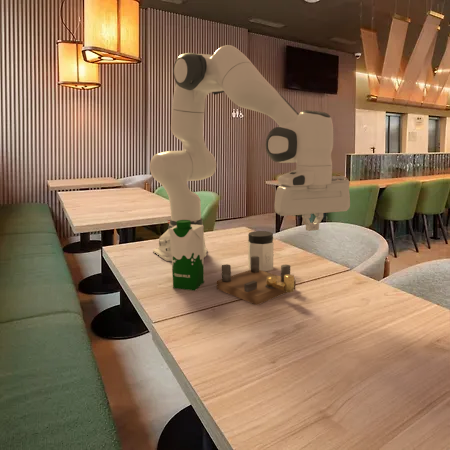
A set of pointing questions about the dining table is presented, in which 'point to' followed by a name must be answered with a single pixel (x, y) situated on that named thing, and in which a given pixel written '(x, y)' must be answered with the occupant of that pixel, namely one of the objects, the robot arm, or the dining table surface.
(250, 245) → the jar
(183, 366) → the dining table surface
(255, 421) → the dining table surface
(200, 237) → the milk carton
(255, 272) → the stool seat
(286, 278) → the gold bone
